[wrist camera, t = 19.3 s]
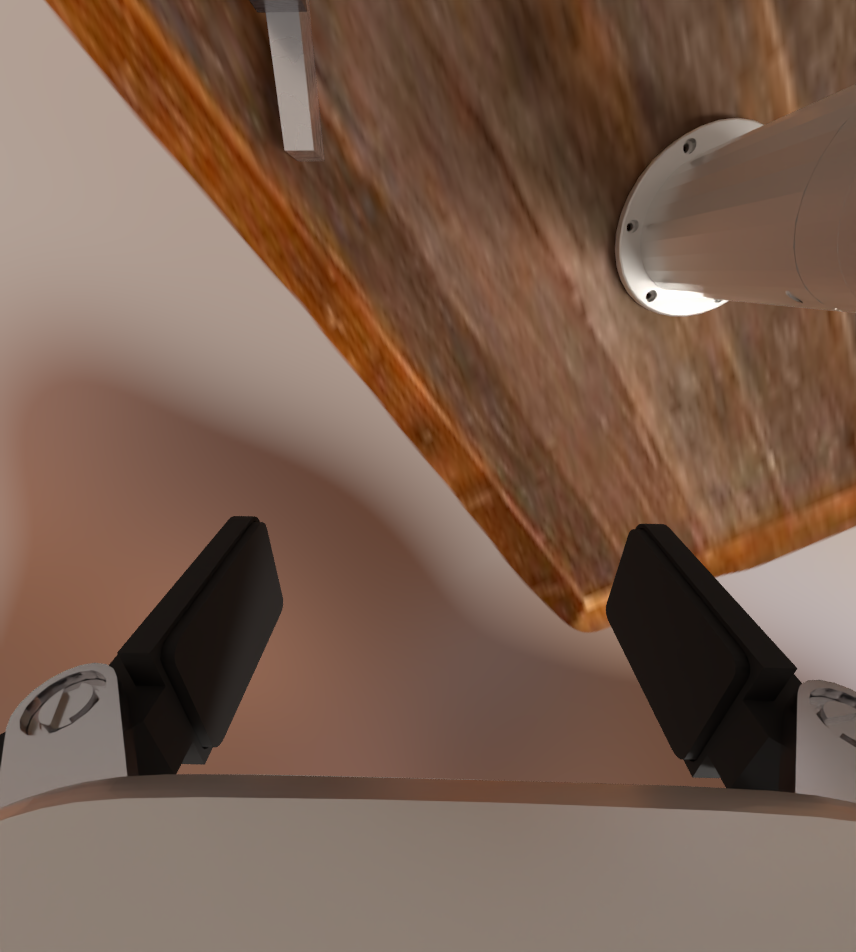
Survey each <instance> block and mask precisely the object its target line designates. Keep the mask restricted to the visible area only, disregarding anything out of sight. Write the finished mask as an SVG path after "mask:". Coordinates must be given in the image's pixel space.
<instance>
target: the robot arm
mask: <svg viewBox="0 0 856 952" xmlns="http://www.w3.org/2000/svg"><path fill="white" fill-rule="evenodd" d="M683 146H685V147H686V150H685V153H684V151H683ZM628 224H630V230H629V231H627V225H628ZM615 256H616V266H617V270H618V273H619V276H620V280H621V282H622V284H623V285H624V287H625V289H626V291H627V293H628V294H629V295H630V296H631V297H632V298H633V299H634V300H635V301H636V302H637V303H638V304H640V305H641V306H643V307H644V308H646V309H647V310H650V311H653V312H655V313H658V314H662V315H668V316H691V315H696V314H701V313H704V312H707V311H710V310H712V309H715V308H717V307H719V306H721V305H723V304H725V303H726V302H728V301H739V302H749V303H760V304H770V305H780V306H790V307H801V308H811V309H821V310H832V311H842V312H852V313H856V84H855V85H852V86H850V87H848V88H846V89H844V90H841V91H839V92H837V93H835V94H832V95H830V96H828V97H826V98H823V99H821V100H819V101H817V102H815V103H812V104H810V105H808V106H806V107H803V108H801V109H799V110H797V111H794V112H792V113H790V114H788V115H786V116H783V117H781V118H779V119H777V120H774V121H772V122H770V123H768V124H765V125H764V124H762V123H759V122H757V121H755V120H749V119H742V118H731V119H723V120H717V121H714V122H711V123H708V124H705V125H702V126H700V127H698V128H696V129H694V130H692V131H690V132H688V133H686V134H685V135H683V136H682V137H680V138H679V139H677V140H676V141H674V142H673V143H671V144H670V145H668V146H667V147H666V148H665V149H664V150H663V151H662V152H661V153H660V154H659V155H658V156H656V157H655V158H654V159H653V160H652V161H651V163H650V164H649V165H648V166H647V168H646V169H645V170H644V171H643V173H642V174H641V175H640V176H639V178H638V180H637V181H636V183H635V185H634V186H633V188H632V190H631V192H630V193H629V195H628V197H627V200H626V202H625V205H624V207H623V210H622V212H621V215H620V219H619V223H618V227H617V231H616V242H615ZM647 293H649V296H648V298H646V295H647ZM282 607H283V597H282V593H281V588H280V584H279V579H278V575H277V571H276V566H275V562H274V557H273V554H272V549H271V544H270V540H269V536H268V531H267V528H266V525H265V523H263V522H260V521H259V519H258V518H257V517H252V516H233V517H231V518H230V519H229V520H228V521H227V522H226V524H225V525H224V526H223V527H222V528H221V529H220V531H219V532H218V533H217V534H216V535H215V537H214V538H213V539H212V540H211V541H210V543H209V544H208V545H207V546H206V547H205V549H204V550H203V551H202V552H201V553H200V555H199V556H198V557H197V558H196V559H195V561H194V562H193V563H192V564H191V565H190V567H189V568H188V569H187V570H186V571H185V572H184V574H183V575H182V576H181V577H180V579H179V580H178V581H177V582H176V583H175V584H174V586H173V587H172V588H171V589H170V590H169V592H168V593H167V594H166V595H165V596H164V598H163V599H162V600H161V601H160V602H159V603H158V605H157V606H156V607H155V608H154V609H153V611H152V612H151V613H150V614H149V615H148V617H147V618H146V619H145V620H144V621H143V623H142V624H141V625H140V626H139V627H138V629H137V630H136V631H135V632H134V633H133V634H132V636H131V637H130V638H129V639H128V640H127V642H126V643H125V644H124V645H123V646H122V648H121V649H120V650H119V651H118V655H117V656H116V657H115V658H114V660H113V661H112V662H111V663H110V665H109V666H108V665H107V664H99V663H92V664H85V665H80V666H77V667H74V668H72V669H69V670H66V671H64V672H62V673H60V674H58V675H56V676H54V677H52V678H50V679H49V680H47V681H46V682H45V683H43V684H42V685H40V686H39V687H38V688H36V689H35V690H33V691H32V692H31V693H30V694H29V695H28V696H27V697H26V698H25V699H24V700H23V701H22V702H21V703H20V704H19V705H18V707H17V708H16V710H15V711H14V712H13V714H12V715H11V717H10V720H9V722H8V725H7V728H6V732H4V733H3V734H1V735H0V952H856V692H855V691H853V690H851V689H849V688H846V687H844V686H841V685H838V684H836V683H832V682H827V681H822V680H809V681H806V682H805V683H803V684H802V683H801V682H800V681H799V679H798V678H797V677H796V676H795V675H794V673H795V671H796V670H797V668H796V667H795V665H794V664H793V663H792V662H791V661H790V660H789V659H788V658H787V657H786V656H785V654H784V653H783V652H782V651H781V650H780V649H779V648H778V647H777V646H776V645H775V643H774V642H773V641H772V640H771V639H770V638H769V637H768V636H767V635H766V634H765V632H764V631H763V630H762V629H761V628H760V627H759V626H758V625H757V624H756V623H755V621H754V620H753V619H752V618H751V617H750V616H749V615H748V614H747V613H746V612H745V610H743V608H742V607H741V606H740V605H739V604H738V603H737V602H736V601H735V600H734V598H733V597H732V596H731V595H730V594H729V593H728V592H727V591H726V590H725V589H724V587H723V586H722V585H721V584H720V583H719V582H718V581H717V580H716V579H715V578H714V576H713V575H712V574H711V573H710V572H709V571H708V570H707V569H706V568H705V567H704V565H703V564H702V563H701V562H700V561H699V560H698V559H697V558H696V557H695V556H694V555H693V553H692V552H691V551H690V550H689V549H688V548H687V547H686V546H685V545H684V544H683V542H682V541H681V540H680V539H679V538H678V537H677V536H676V535H675V534H674V533H673V531H672V530H671V529H670V528H669V527H668V526H666V525H664V524H639V525H638V526H637V527H636V529H633V530H631V531H630V532H629V535H628V538H627V541H626V544H625V547H624V551H623V554H622V557H621V560H620V563H619V566H618V570H617V573H616V576H615V579H614V582H613V586H612V589H611V592H610V595H609V598H608V601H607V605H606V615H607V618H608V621H609V623H610V625H611V627H612V629H613V631H614V633H615V635H616V637H617V639H618V641H619V643H620V645H621V647H622V649H623V651H624V653H625V655H626V657H627V659H628V661H629V663H630V665H631V667H632V669H633V671H634V674H635V675H636V678H637V680H638V682H639V683H640V686H641V688H642V690H643V692H644V694H645V696H646V698H647V699H648V702H649V704H650V706H651V708H652V710H653V712H654V714H655V716H656V718H657V720H658V722H659V724H660V726H661V728H662V730H663V732H664V734H665V736H666V738H667V740H668V742H669V744H670V746H671V748H672V750H673V752H674V753H675V755H676V756H677V757H678V758H680V759H683V760H684V761H685V764H686V766H687V767H688V769H689V771H690V773H691V775H692V777H698V778H721V780H722V781H723V783H724V785H725V787H726V788H710V787H709V788H708V787H689V786H664V785H663V786H662V785H661V786H660V785H633V784H632V785H631V784H602V783H600V784H599V783H571V782H538V781H502V780H501V781H500V780H466V779H463V780H462V779H426V778H388V777H342V776H340V777H339V776H293V775H292V776H291V775H207V774H192V775H189V774H186V775H185V774H184V775H183V774H182V775H179V774H178V775H177V774H176V773H177V771H178V769H179V768H180V766H181V764H205V763H206V761H207V758H208V756H209V754H210V752H211V750H212V748H213V747H218V746H219V745H220V744H221V742H222V741H223V739H224V737H225V735H226V733H227V730H228V728H229V726H230V724H231V721H232V719H233V717H234V715H235V713H236V710H237V708H238V706H239V704H240V702H241V700H242V697H243V695H244V693H245V691H246V688H247V686H248V684H249V682H250V680H251V678H252V675H253V673H254V671H255V669H256V667H257V664H258V662H259V660H260V658H261V656H262V653H263V651H264V649H265V647H266V644H267V642H268V640H269V638H270V636H271V633H272V631H273V629H274V627H275V625H276V622H277V620H278V618H279V616H280V614H281V611H282Z"/></svg>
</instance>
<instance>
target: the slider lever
mask: <svg viewBox="0 0 856 952" xmlns="http://www.w3.org/2000/svg"><path fill="white" fill-rule="evenodd" d="M249 1H250V2H251V4H252V5H253V6H254V8H255V9H256V11H257V12H266V17H267V25H268V32H269V39H270V47H271V54H272V61H273V69H274V76H275V83H276V91H277V98H278V105H279V113H280V120H281V127H282V135H283V142H284V149H285V151H286V152H287V153H288V154H290V155H291V156H292V157H293V158H295V159H296V160H297V161H325V160H324V150H323V140H322V130H321V120H320V110H319V100H318V90H317V80H316V70H315V59H314V49H313V39H312V29H311V19H310V9H309V0H249Z"/></svg>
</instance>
